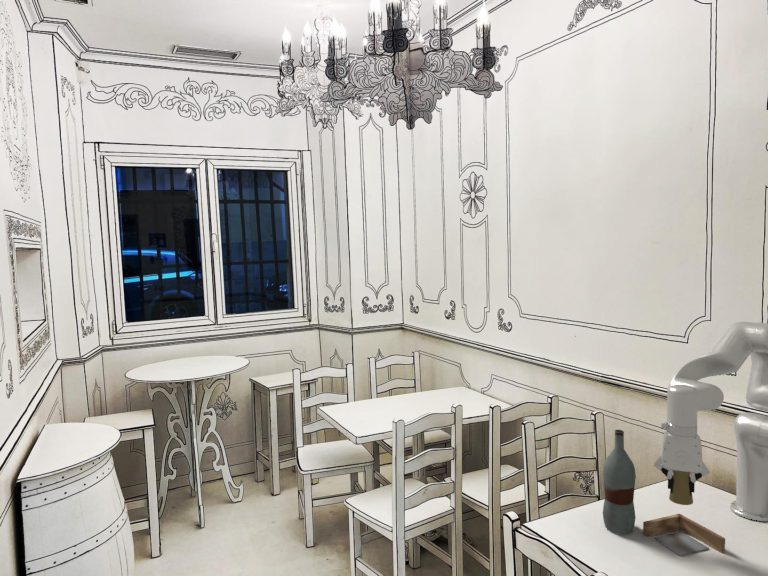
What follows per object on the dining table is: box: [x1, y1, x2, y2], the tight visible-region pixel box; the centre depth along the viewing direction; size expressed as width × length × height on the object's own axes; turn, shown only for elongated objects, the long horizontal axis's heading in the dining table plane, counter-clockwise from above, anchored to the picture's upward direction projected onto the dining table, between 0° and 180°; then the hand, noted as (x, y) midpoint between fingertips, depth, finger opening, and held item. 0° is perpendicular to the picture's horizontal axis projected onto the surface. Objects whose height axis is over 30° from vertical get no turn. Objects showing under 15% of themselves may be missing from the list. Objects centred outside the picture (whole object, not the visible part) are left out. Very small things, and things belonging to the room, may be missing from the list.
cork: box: [668, 471, 694, 506], centre depth 159 cm, size 6×6×11 cm
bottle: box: [602, 429, 637, 535], centre depth 169 cm, size 9×9×30 cm
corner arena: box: [642, 513, 726, 557], centre depth 161 cm, size 14×15×4 cm
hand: (680, 492), depth 159 cm, fingers closed on cork, 3 cm apart
